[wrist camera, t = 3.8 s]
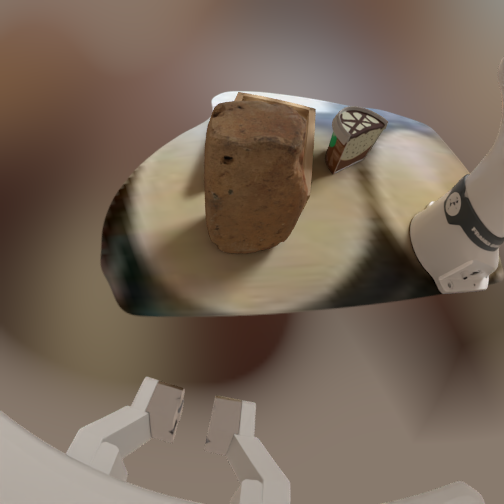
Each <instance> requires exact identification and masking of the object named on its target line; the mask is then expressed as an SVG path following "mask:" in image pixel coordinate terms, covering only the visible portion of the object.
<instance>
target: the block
mask: <svg viewBox="0 0 504 504" xmlns="http://www.w3.org/2000/svg"><path fill="white" fill-rule="evenodd" d="M306 126H307V121H306V120H305V118H304V117H302V116H300V115H299V114H298V112H297V111H296V110H294V109H293V108H292V107H289V106H287V105H285V104H283V105H282V104H277V103H276V104H268V103H266V102H262V101H232V102H225V103H220V104H218V105H217V106H216V107H215V108H214V110H213V112H212V115H211V118H210V121H209V124H208V127H207V133H206V143H205V165H204V169H205V211H206V222H207V228H208V232H209V236H210V239H211V241H212V242H214V243H215V244H217V246H218V248H219V249H220V250H221V251H224V252H227V253H244V254H246V253H252V252H257V251H259V250H265V249H269V248H271V247H274V246H276V245H278V244H279V243H280V242H284V241H285V240H286V239H287V238H288V236H289V235H290V234H291V232H292V230H293V228H294V227H295V225H296V223H297V221H298V218H299V216H300V214H301V212H302V210H303V207H304V205H305V202H306V198H307V195H308V188H307V185H306V179H305V174H304V170H303V156H304V150H303V147H304V146H305V137H306Z"/></svg>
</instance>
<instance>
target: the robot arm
mask: <svg viewBox="0 0 504 504" xmlns="http://www.w3.org/2000/svg"><path fill="white" fill-rule="evenodd" d="M498 84H499V87H500V91H501V96H502V119H501V124H500V129H499V132H498V135H497V138H496V141H495V143H494V144H493V146H492V148H491V150H490V151H489V152H488V153H487V155H486V156H485V157H484V159H483V160H482V161H481V163H479V165H478V166H477V167H476V168H475V169H474V170H473V172H472V173H471V174H467V175H465V176H464V177H463V178H461V179H460V180H459V182H458V183H457V184H456V185H455V186H454V187H453V188H452V189H451V190H450V191H448V192H447V193H446V194H445V195H443V196H442V197H441V198H439V199H438V200H437V201H435V202H434V201H432V202H430V203H429V204H428V205H427V207H426V209H424V210H423V211H421V212H419V213H417V214H416V215H415V216H414V217H413V219H412V222H411V226H410V236H411V242H412V245H413V248H414V251H415V253H416V256H417V258H418V259H419V261H420V263H421V264H422V266H423V267H424V268H425V269H426V271H427V272H428V273H429V274H430V275H431V276H432V277H433V279H434V281H435V283H436V285H437V287H438V289H439V291H440V292H441V293H442V294H452V293H464V292H476V291H483V290H485V289H486V288H487V286H488V280H489V274H491V273H492V272H494V271H495V270H496V269H497V266H498V261H499V247H500V245H501V244H502V243H503V242H504V56H503V58H502V59H501V61H500V64H499V68H498ZM184 391H185V389H184V388H182V387H178V386H175V385H172V384H168V383H165V382H162V381H159V380H156V379H153V378H150V377H146V378H145V379H144V380H143V382H142V384H141V386H140V388H139V391H138V393H137V395H136V397H135V399H134V401H133V403H132V405H131V407H130V406H125V407H123V408H121V409H120V410H117V411H115V412H113V413H111V414H109V415H107V416H105V417H103V418H102V419H99V420H97V421H95V422H93V423H91V424H89V425H87V426H84V427H82V428H80V429H79V431H78V433H77V435H76V436H75V438H74V440H73V442H72V443H71V445H70V447H69V449H68V451H67V453H66V454H65V453H63V452H61V451H59V450H58V449H56V448H54V447H53V446H51V445H49V444H48V443H46V442H45V441H43V440H41V439H40V438H38V437H37V436H35V435H34V434H32V433H31V432H29V431H28V430H26V429H25V428H23V427H22V426H21V425H19V424H18V423H16V422H15V421H14V420H12V419H11V418H10V417H8V416H7V415H6V414H5V413H3V412H2V411H1V410H0V504H203V503H199V502H194V501H189V500H185V499H181V498H176V497H173V496H169V495H165V494H162V493H158V492H155V491H152V490H149V489H146V488H142V487H140V486H137V485H134V484H131V483H128V482H126V479H127V476H128V473H127V470H126V468H125V465H124V462H123V460H122V459H123V458H125V457H126V456H127V455H129V454H130V453H132V452H133V451H135V450H136V449H138V448H139V447H140V446H142V445H143V444H145V443H146V442H147V441H149V440H150V439H151V438H155V439H158V440H162V441H165V442H169V443H173V441H174V438H175V434H176V431H177V423H178V422H179V421H180V418H181V414H182V409H183V403H184V400H183V396H184ZM255 413H256V404H255V403H254V402H248V401H242V400H238V399H232V398H226V397H222V396H217V395H216V397H215V401H214V405H213V410H212V414H211V419H210V424H209V429H208V434H207V439H206V444H205V449H204V451H206V452H210V453H215V454H219V455H224V456H226V458H227V460H228V462H229V464H230V466H231V468H232V470H233V472H234V474H235V476H236V477H237V479H238V481H239V483H240V486H239V487H238V489H237V490H236V492H235V493H234V495H233V497H232V498H231V499H230V504H290V482H289V480H288V479H287V477H286V476H285V475H284V474H283V472H282V471H281V469H280V468H279V467H278V465H277V464H276V463H275V461H274V460H273V459H272V457H271V456H270V454H269V453H268V451H267V450H266V449H265V447H264V446H263V445H262V443H261V441H260V440H259V439H258V438H256V437H254V430H255ZM381 504H485V502H484V500H483V497H482V496H481V494H480V493H478V492H477V491H476V490H475V489H473V488H472V487H470V486H469V485H467V484H466V483H464V482H462V481H458V482H454V483H451V484H449V485H446V486H443V487H440V488H437V489H434V490H431V491H428V492H425V493H422V494H418V495H415V496H411V497H407V498H403V499H399V500H395V501H391V502H386V503H381Z"/></svg>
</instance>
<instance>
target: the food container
mask: <svg viewBox="0 0 504 504" xmlns="http://www.w3.org/2000/svg"><path fill="white" fill-rule="evenodd" d="M387 123H388V121H387V120H386V119H384V118H383V117H382V116H380V115H378V114H377V113H375V112H373V111H371V110H368V109H365V108H362V107H356V106H350V107H346V108H344V109H342V110H341V111H339V113H338V114H337V115H336V116H335V118H334V119H333V122H332V127H333V134H332V138H331V141H330V144H329V147H328V150H327V153H326V157H325V160H326V164H327V166H328V168H329V170H330V171H331V172H332V173H333V174H335V173H337V172H339V171H341V170H343V169H345V168H347V167H349V166H351V165H353V164H355V163H357V162H359V161H361V160H364V159H365V157H366V156H367V154H368V153H369V151H370V150H371V148H372V147H373V145H374V144H375V142H376V141H377V139H378V137H379V136H380V134H381V133H382V131H383V130H384V129H386V127H387Z"/></svg>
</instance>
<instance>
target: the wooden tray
mask: <svg viewBox="0 0 504 504" xmlns="http://www.w3.org/2000/svg"><path fill="white" fill-rule="evenodd" d="M235 101H262V102H266V103H268V104H276V103H277V104H282V105H283V104H285V105H287V106H289V107H292V108H293V109H294V110H296V111H297V112H298V114H299V115H300V116H302V117H304V118H305V120H306V121H307V126H306V137H305V146H304V147H303V150H304V156H303V170H304V174H305V179H306V185H307V188H308V195H307V198H306V202H305V205H306V203H307V201H308V199H309V197H310V189H311V177H312V164H313V149H314V131H315V110H316V109H314V108H310V107H306V106H302V105H299V104H294V103H290V102H286V101H282V100H277V99H273V98H268V97H263V96H258V95H252V94H247V93H241V92H238V94H237V96H236V99H235ZM204 183H205V172H204ZM305 205H304V207H305ZM304 207H303V209H304Z"/></svg>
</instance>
